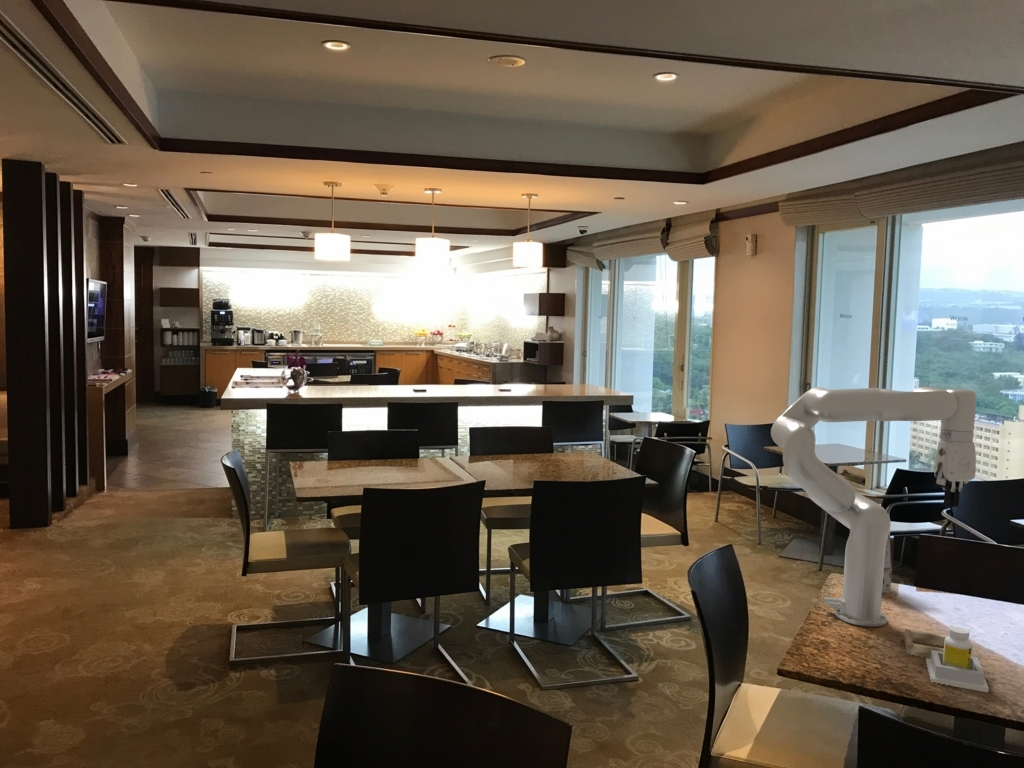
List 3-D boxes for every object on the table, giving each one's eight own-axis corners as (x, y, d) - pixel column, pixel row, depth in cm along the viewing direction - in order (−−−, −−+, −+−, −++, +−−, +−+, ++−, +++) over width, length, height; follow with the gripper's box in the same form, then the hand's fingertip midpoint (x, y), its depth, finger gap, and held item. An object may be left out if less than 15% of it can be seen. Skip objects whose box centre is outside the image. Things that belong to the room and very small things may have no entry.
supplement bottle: (971, 679, 176) (975, 636, 175) (944, 675, 178) (947, 632, 177) (966, 669, 181) (970, 627, 180) (939, 665, 183) (943, 623, 182)
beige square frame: (907, 654, 190) (908, 644, 190) (904, 638, 200) (904, 628, 200) (956, 663, 187) (957, 652, 186) (951, 646, 196) (951, 636, 196)
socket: (930, 682, 176) (932, 666, 176) (925, 662, 186) (927, 647, 186) (988, 692, 172) (989, 676, 172) (979, 671, 182) (981, 656, 182)
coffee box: (891, 593, 233) (895, 539, 231) (870, 593, 232) (874, 539, 231) (874, 582, 242) (878, 530, 240) (854, 582, 241) (858, 530, 240)
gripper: (948, 440, 202) (943, 511, 203) (989, 437, 207) (984, 507, 209) (923, 435, 208) (918, 504, 210) (963, 433, 214) (958, 500, 216)
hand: (951, 505), depth 210 cm, fingers closed
